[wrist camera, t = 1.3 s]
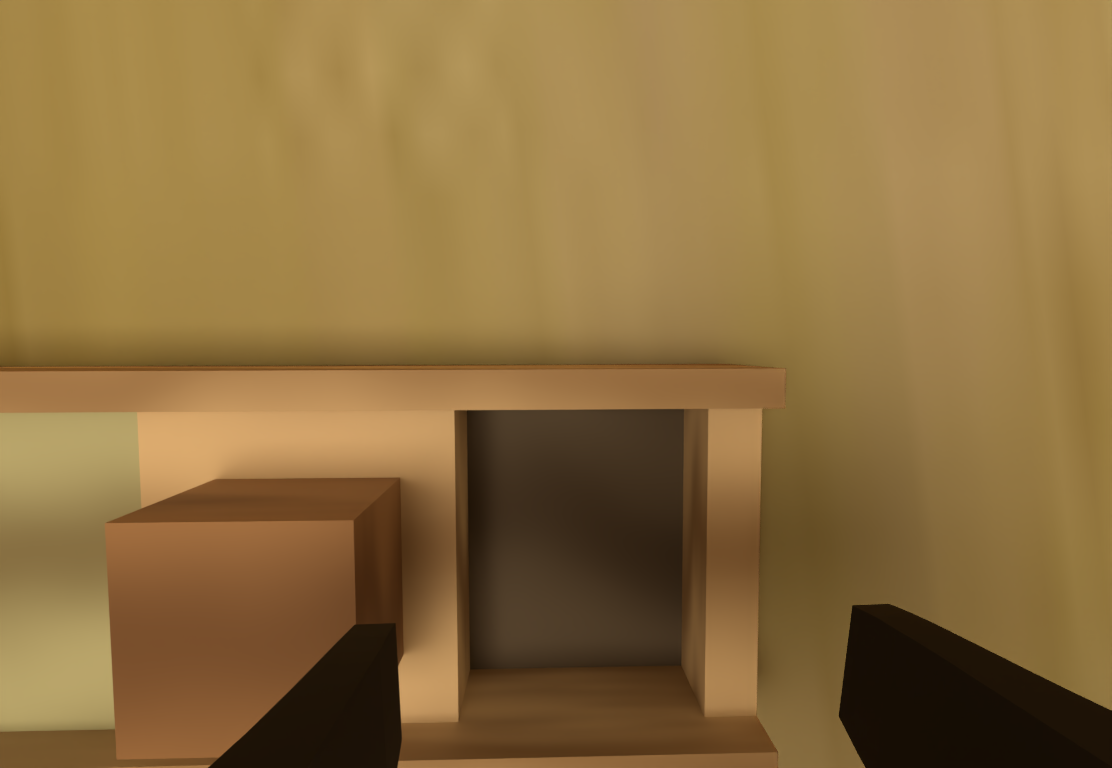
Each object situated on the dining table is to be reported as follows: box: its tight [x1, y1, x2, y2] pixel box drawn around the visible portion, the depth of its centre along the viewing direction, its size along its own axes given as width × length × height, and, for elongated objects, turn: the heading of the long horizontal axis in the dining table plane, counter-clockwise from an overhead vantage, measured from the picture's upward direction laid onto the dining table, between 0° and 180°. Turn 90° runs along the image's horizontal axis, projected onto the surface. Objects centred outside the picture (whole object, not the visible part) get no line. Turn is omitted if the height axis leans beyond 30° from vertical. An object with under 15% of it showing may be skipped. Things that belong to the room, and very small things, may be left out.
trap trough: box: [0, 364, 786, 768], centre depth 17 cm, size 11×36×4 cm, turn 90°
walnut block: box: [105, 477, 404, 760], centre depth 14 cm, size 5×5×4 cm
